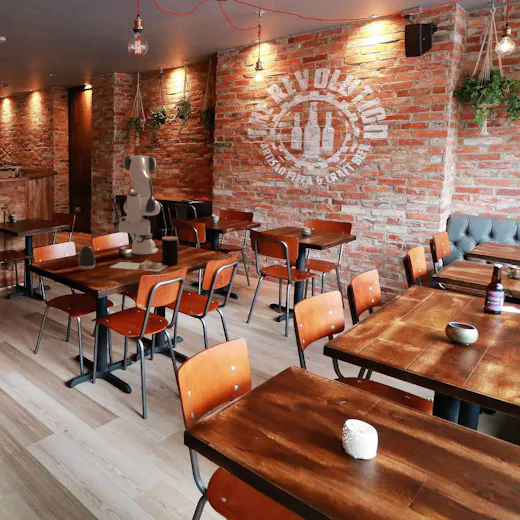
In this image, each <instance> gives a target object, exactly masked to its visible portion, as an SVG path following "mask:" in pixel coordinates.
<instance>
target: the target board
mask: <svg viewBox="0 0 520 520" xmlns="http://www.w3.org/2000/svg"><path fill="white" fill-rule="evenodd" d="M141 263H142V262H141ZM141 263H138V262H126V261H119V262H117V263H116V264H112V265H111V266H109V268H111V269H124V270H136V271H138V270H139V271H150V272H151V273H152V274H160V273H161V272H163V271H164V269H165V270H166V269H168V268H169V267H168V266H169V265H165V264H162V268H160V269H153V268H147V269H139V264H141ZM167 267H168V268H167ZM159 272H160V273H159Z"/></svg>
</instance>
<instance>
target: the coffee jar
mask: <svg viewBox="0 0 520 520" xmlns="http://www.w3.org/2000/svg"><path fill="white" fill-rule="evenodd" d="M161 240H162V241H161V263H162V264H164V265H166V266H176V265H178V263H179V241H178V240H179V237H178V236H167V235H166V236H163V237H162V238H161Z"/></svg>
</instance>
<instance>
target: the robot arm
mask: <svg viewBox="0 0 520 520" xmlns="http://www.w3.org/2000/svg"><path fill="white" fill-rule="evenodd" d="M123 167H124V169H125V170H126V171H128V173H129V175H128V176H129V179H130V180H131V182H132V183H133V192H128V193H127V195H126V200H125V202H124V204H123V210H124V212H125V214H126V215H123V216H122V217H119V223H118V232H119V233H124V234H129V235H130V237H131V240H132V247H131V248H132V249H131V250H133V252H132V254H135V255H152V254H153V255H154V254H156V253H157V252H158V251H159V248H157V247H156V243H155V241H154V240H153V239H152V237H153V233H151V221H150V220H149V219H144V218H143V217H142V216H156V215H158V214H159V213H160V212H161V205H160V203H159V202H158V201H157V200H156V199H155V195H154V187H153V183H152V178H151V177H150V174H152V172H154V171H156V167H157V160H156V158H155V157H154V156H152V155H140V154H139V155H127V156H125V157H124V159H123Z"/></svg>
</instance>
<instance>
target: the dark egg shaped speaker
mask: <svg viewBox="0 0 520 520" xmlns="http://www.w3.org/2000/svg"><path fill="white" fill-rule="evenodd" d="M93 251H94V250H92V247H91V245H85V246H83V247H82V248H81V249H80V251H79V256H78V263H77V265H78V266H79V269H80V270H82V271H83V270H92V269H94V268H95V266H96V263H97V262H96V257H95V254H94V252H93Z"/></svg>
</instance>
